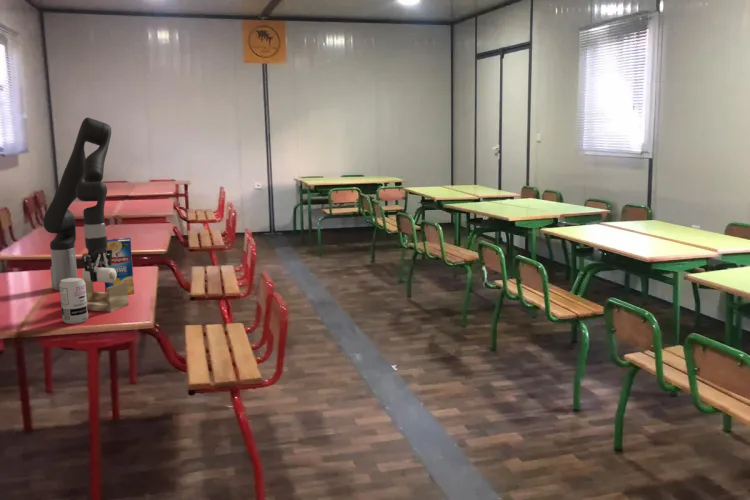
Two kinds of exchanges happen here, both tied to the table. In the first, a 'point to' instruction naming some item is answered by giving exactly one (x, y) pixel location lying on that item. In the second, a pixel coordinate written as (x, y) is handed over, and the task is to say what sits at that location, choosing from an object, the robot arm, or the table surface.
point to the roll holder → (107, 297)
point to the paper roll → (101, 274)
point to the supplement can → (73, 300)
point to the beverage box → (121, 262)
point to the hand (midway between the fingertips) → (99, 279)
